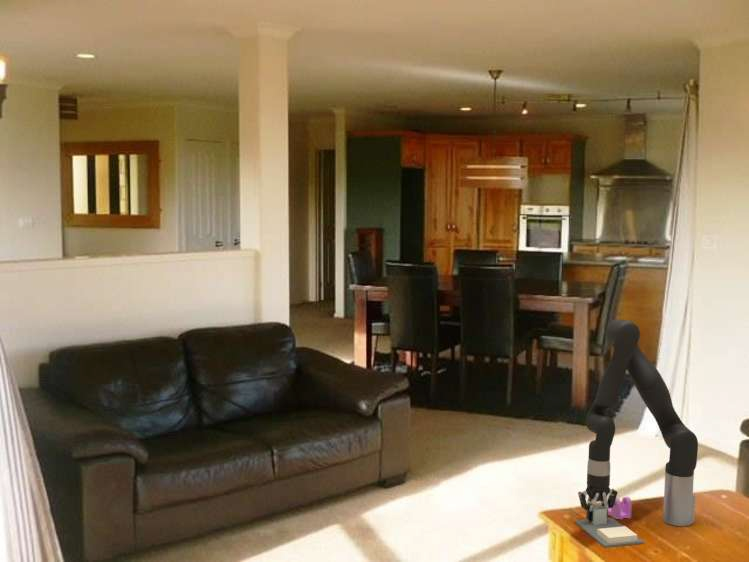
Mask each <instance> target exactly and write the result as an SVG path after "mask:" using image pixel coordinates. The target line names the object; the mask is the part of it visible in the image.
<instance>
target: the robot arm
mask: <svg viewBox="0 0 749 562" xmlns="http://www.w3.org/2000/svg"><path fill="white" fill-rule="evenodd" d="M605 333H606V337H607V340H608V342H609V343H610V344H611V345H612V347H613V350H612V355H611V359H610V360H609V363H608V366H607V367H606V369H605V371H604V372H603V375H602V377H601V379H600V381H599V384H598V388H597V391H596V392H597V393H596V396H595V399H594V401H593V403H592V405H591V407H590V408H589V411H587V414H586V419H585V425H586V428H587V429H588V431H590V432H591V433H594V434H595V435H596V436H595V439H594V440H591V441H590V442H589V444H588V459H587V465H586V466H587V468H586V471H587V472H586V488H585V490H584V491H578V493H577V494H578V495H577V496H578V498H579V503H580V507H581V508H582V509H584V511H586V520H589V521H590V522H592V521H593V511H592V510H593V507H594V505H595V504H597V502H600V503H601V505H603V506H604V507H605V508H607V518H609V517H608V516H609V514H608V509H609V508H613V506H614V503H615V500H616V498H617V496H618V493H619V492H618V491H617V490H616V489H614V488H610V484H611V483H610V482H611V446H612V445H613V440H614V438H615V435H616V434H615V433H616V424H615V421H614V419H613V418H612V417H610V416H608V415H607V413H608V412H609V410H612V409H615V408H616V406H617V404H618V400H619V397H620V393H621V390H622V385H623V383H624V378H625V375H626V373H628V375H629V376H630V378H631V380H632V382H633V384H634V386H635V388H636V389H635V390H637V392H638V394H639V396H640V397H641V400H642V401H643V403H644V404H645V406H646V407H647V409H648V411H649V412H650V413H651V415H652V416H653V418H654V420H655V422H656V424H657V426H658V428H659V432H660V433H661V436H662V438H663V441H664V443H665V445H666V446H667V447H668V448H669V461H668V462H666V463H665V467H664V468H665V469H664V470H665V471H664V472H665V473H664V492H663V493H664V494H663V514H662V517H663V518H662V520H663V522H664V523H666V524H668V525H670V526H674V527H675V526H676V527H688V526H690V525H692V524H695V512H696V511H695V509H696V495H694V480H695V477H694V475H695V470H696V467H697V464H698V463H697V461H698V451H699V441H698V438H697V437H698V436H696V434H695V433H694V432H693V431H692V430H690V429H689V428H688V427H687V426H686V425H685V424H684V422H683V421H682V420H681V418H680V417H679V415H678V414H677V412H676V409H675V407H674V405H673V401H672V396H671V392H670V390H669V388H668V386H667V383H666V382H665V379H664V378H663V377H662V375H661V373H660V371H658V369H657V368H656V366H655V365H654V364H653V363H652V362H651V361H650V360H649V359H648V357H647V356H646V355H645V353H643V351H642V349H641V348H640V346H639V341H640V339H641V330H640V328H639V326H638V325H637V324H636V323H635V322H633V321H630V320H627V319H620V318H619V319H618V318H617V319H613V320H611V321H610V322H609V323H608V325H607V326H606V332H605ZM626 371H627V372H626ZM587 496H588V497H587ZM607 497H608V498H607Z"/></svg>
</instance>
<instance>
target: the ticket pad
mask: <svg viewBox="0 0 749 562" xmlns="http://www.w3.org/2000/svg"><path fill="white" fill-rule="evenodd" d="M574 524H575V525H576V526H578V527H579V528H581V530H583V531H584V532H585V533H587V534H588V535H589V536H590V538H592V539H593V540H595V541H596V542H598V543H599V544H600V545H601V546H603V548H611V547H612V548H613V547H622V546H623V545H625V546H631V545H642V544H645V541H644V540H642V539H641V538H640V537H639V536H638V534H637V533H635V532H634V531H632V530H631V529H629V527H627V526H626V525H623V524H621V523H620V522H619V521H618V520H616V519H615V518H613V517H612V516H610V517H607V521H606V524H601V525H594V524H593V523H591V522H590V521H589V520H588V519H581V520H580V519H579V520H574ZM623 547H624V546H623Z"/></svg>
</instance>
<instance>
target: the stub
mask: <svg viewBox="0 0 749 562" xmlns="http://www.w3.org/2000/svg"><path fill="white" fill-rule="evenodd" d="M600 503H601V502H600ZM600 503H599V502H598V503H597V502H596V504H595V505H594V507H593V510H592V511H593V521H592V522H591V523H593V524H594V525H601V524H606V521H607V518H608V517H607V508H605V507H604V506H603V505H601V504H600Z"/></svg>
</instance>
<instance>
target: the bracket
mask: <svg viewBox="0 0 749 562" xmlns="http://www.w3.org/2000/svg"><path fill="white" fill-rule="evenodd" d="M621 501H622V502H621ZM632 503H633V502H632V499H631V498H630V497H629V496H626V497H625V496H624V497H622V500H620V498H618V497H616V500H615V503H614V506H613V508H609V509H608V516H610V515H611V516H610V517H612V516H613V517H614V518H613V517H612V518H613V519H615V518H616V519H620V520H624V519H623V518H628V519H632V508H633V507H632V505H633V504H632ZM600 504H601V502H600ZM616 519H615V520H616Z"/></svg>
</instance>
